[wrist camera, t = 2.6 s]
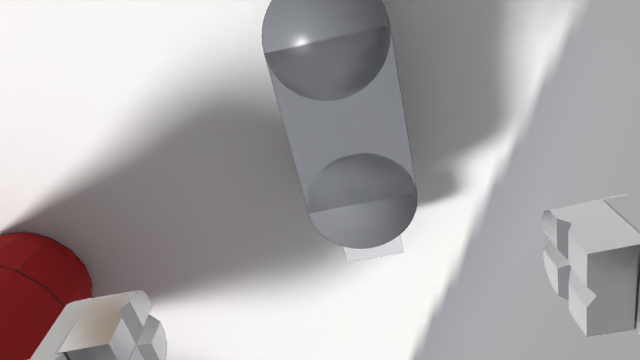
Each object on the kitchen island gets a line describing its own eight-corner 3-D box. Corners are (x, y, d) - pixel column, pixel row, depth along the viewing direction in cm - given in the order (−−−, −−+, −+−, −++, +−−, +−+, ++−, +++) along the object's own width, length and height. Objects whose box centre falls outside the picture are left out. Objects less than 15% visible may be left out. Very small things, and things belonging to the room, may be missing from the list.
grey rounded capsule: (366, -52, 19) (378, -46, 15) (411, 212, 24) (429, 271, 20) (262, -26, 19) (245, -13, 15) (328, 228, 24) (329, 289, 20)
